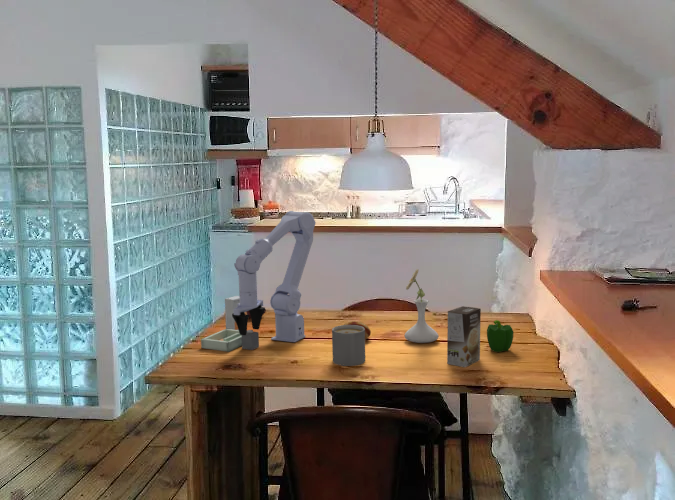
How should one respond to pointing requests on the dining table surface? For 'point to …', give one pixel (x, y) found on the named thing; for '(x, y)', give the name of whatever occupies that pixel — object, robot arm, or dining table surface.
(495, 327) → the bell pepper
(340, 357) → the coffee mug
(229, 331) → the grey-green rectangular frame
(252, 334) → the grey block with knob
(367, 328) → the croissant
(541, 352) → the dining table surface
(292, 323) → the robot arm
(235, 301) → the skincare box
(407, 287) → the flower in vase
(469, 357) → the coffee box
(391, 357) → the dining table surface
